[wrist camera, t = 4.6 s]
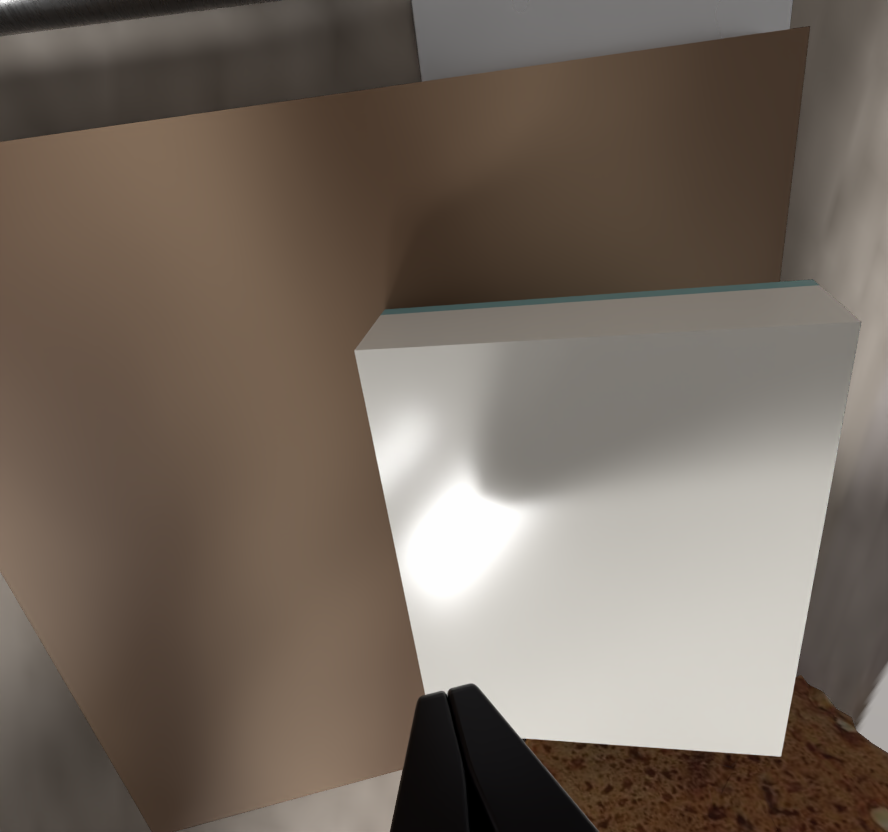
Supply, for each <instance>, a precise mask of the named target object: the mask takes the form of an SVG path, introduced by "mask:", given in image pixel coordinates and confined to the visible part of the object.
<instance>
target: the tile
mask: <svg viewBox="0 0 888 832" xmlns="http://www.w3.org/2000/svg"><path fill="white" fill-rule="evenodd" d="M860 326H861V321H860V320H859V319H858V318H857V317H855V316H854V315H853V314H852V313H851V312H850V311H848V310H847V309H846V308H845V307H844V306H843V305H842V304H840V303H839V302H838V301H837V300H836V299H835V298H834V297H832V296H831V295H830V294H829V293H828V292H827V291H826V290H824V289H823V288H822V287H821V286H820V285H819V284H817V283H816V282H815V281H814V280H798V281H784V282H770V283H756V284H741V285H727V286H713V287H699V288H684V289H670V290H656V291H641V292H627V293H613V294H599V295H584V296H570V297H556V298H542V299H527V300H513V301H499V302H485V303H470V304H456V305H442V306H427V307H413V308H399V309H385V310H384V311H383V312H382V314H381V315H380V316H379V318H378V319H377V321H376V322H375V323H374V325H373V326H372V327H371V329H370V330H369V331H368V333H367V334H366V335H365V337H364V338H363V339H362V341H361V342H360V343H359V345H358V346H357V348H356V349H355V350H354V352H355V356H356V361H357V366H358V371H359V376H360V381H361V386H362V390H363V395H364V400H365V405H366V410H367V415H368V420H369V424H370V429H371V434H372V439H373V444H374V449H375V453H376V458H377V463H378V468H379V473H380V478H381V483H382V487H383V492H384V497H385V502H386V507H387V512H388V517H389V521H390V526H391V531H392V536H393V541H394V546H395V550H396V555H397V560H398V565H399V570H400V575H401V580H402V584H403V589H404V594H405V599H406V604H407V609H408V614H409V618H410V623H411V628H412V633H413V638H414V643H415V647H416V652H417V657H418V662H419V667H420V672H421V677H422V681H423V686H424V691H425V695H426V694H430V693H434V692H438V691H444V692H445V693H446V694H447V692H448V690H449V689H450V688H453V687H457V686H461V685H465V684H468V683H473V684H475V685H476V686H478V687H479V689H480V690H481V691H482V692H483V693H484V695H485V696H486V697H487V698H488V699H489V701H490V702H491V703H492V704H493V705H494V707H495V708H496V709H497V710H498V711H499V712H500V714H501V715H502V716H503V717H504V718H505V720H506V721H507V722H508V723H509V724H510V726H511V727H512V728H513V729H514V730H515V732H516V733H517V734H518V735H519V736H520V738H525V739H539V740H553V741H567V742H581V743H596V744H610V745H624V746H638V747H652V748H666V749H680V750H694V751H709V752H723V753H737V754H751V755H765V756H779V757H781V754H782V749H783V744H784V738H785V733H786V727H787V722H788V716H789V711H790V706H791V700H792V695H793V689H794V684H795V678H796V673H797V668H798V662H799V657H800V651H801V646H802V640H803V635H804V630H805V624H806V619H807V613H808V608H809V603H810V597H811V592H812V586H813V581H814V575H815V570H816V565H817V559H818V554H819V548H820V543H821V537H822V532H823V527H824V521H825V516H826V510H827V505H828V500H829V494H830V489H831V483H832V478H833V472H834V467H835V462H836V456H837V451H838V445H839V440H840V434H841V429H842V424H843V418H844V413H845V407H846V402H847V397H848V391H849V386H850V380H851V375H852V369H853V364H854V359H855V353H856V348H857V342H858V337H859V331H860ZM447 697H448V696H447Z"/></svg>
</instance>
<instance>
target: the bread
mask: <svg viewBox="0 0 888 832" xmlns="http://www.w3.org/2000/svg"><path fill="white" fill-rule="evenodd" d="M525 744H526V745H527V746H528V747H529V748H530V749H531V751H532V752H533V753H534V754H535V755H536V757H537V758H538V759H539V760H540V761H541V763H542V764H543V765H544V766H545V767H546V769H547V770H548V771H549V772H550V773H551V775H552V776H553V777H554V778H555V779H556V781H557V782H558V783H559V784H560V785H561V786H562V788H563V789H564V790H565V791H566V792H567V794H568V795H569V796H570V797H571V798H572V800H573V801H574V802H575V803H576V804H577V806H578V807H579V808H580V809H581V810H582V812H583V813H584V814H585V815H586V816H587V818H588V819H589V820H590V821H591V822H592V823H593V825H594V826H595V827H596V828H597V829H598V831H599V832H888V753H887V752H885V751H884V750H882V749H881V748H879V747H877V746H876V745H874V744H872V743H871V742H870V741H869V740H867V739H866V738H865V737H864V736H862V735H861V734H860V733H858V732H857V731H856V728H855V726H854V723H853V721H852V718H851V717H850V716H848V715H846V714H845V713H843V712H841V711H839V710H837V709H836V708H835V707H834V705H833V704H832V703H831V702H830V700H829V699H828V698H827V696H826V695H825V694H824V692H822V691H820V690H818V689H816V688H814V687H812V686H811V685H809V684H808V683H807V682H806V681H805V680H804V678H803V677H802V676H801V675H800V676H798V677H796V678H795V684H794V689H793V695H792V700H791V706H790V711H789V716H788V722H787V727H786V733H785V738H784V744H783V749H782V754H781V757H779V756H765V755H751V754H737V753H723V752H709V751H694V750H680V749H666V748H652V747H638V746H624V745H610V744H596V743H581V742H567V741H553V740H539V739H526V741H525Z"/></svg>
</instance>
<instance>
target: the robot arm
mask: <svg viewBox="0 0 888 832" xmlns="http://www.w3.org/2000/svg"><path fill="white" fill-rule="evenodd" d="M447 696H448V697H447ZM390 832H599V831H598V829H597V828H596V827H595V826H594V825H593V823H592V822H591V821H590V820H589V819H588V818H587V816H586V815H585V814H584V813H583V812H582V810H581V809H580V808H579V807H578V806H577V804H576V803H575V802H574V801H573V800H572V798H571V797H570V796H569V795H568V794H567V792H566V791H565V790H564V789H563V788H562V786H561V785H560V784H559V783H558V782H557V781H556V779H555V778H554V777H553V776H552V775H551V773H550V772H549V771H548V770H547V769H546V767H545V766H544V765H543V764H542V763H541V761H540V760H539V759H538V758H537V757H536V755H535V754H534V753H533V752H532V751H531V749H530V748H529V747H528V746H527V745H526V744H525V742H524V741H523V740H522V739H521V738H520V736H519V735H518V734H517V733H516V732H515V730H514V729H513V728H512V727H511V726H510V724H509V723H508V722H507V721H506V720H505V718H504V717H503V716H502V715H501V714H500V712H499V711H498V710H497V709H496V708H495V707H494V705H493V704H492V703H491V702H490V701H489V699H488V698H487V697H486V696H485V695H484V693H483V692H482V691H481V690H480V689H479V687H478V686H476V685H475V684H473V683H468V684H465V685H461V686H457V687H453V688H450V689H449V690H448V692H447V694H446V693H445V692H444V691H438V692H434V693H430V694H426V695H422V696H420V697H419V698H418V700H417V703H416V707H415V712H414V717H413V722H412V727H411V732H410V737H409V741H408V746H407V751H406V756H405V761H404V766H403V771H402V776H401V781H400V785H399V790H398V795H397V800H396V805H395V810H394V815H393V820H392V824H391V829H390Z"/></svg>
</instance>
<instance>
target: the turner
mask: <svg viewBox="0 0 888 832" xmlns="http://www.w3.org/2000/svg"><path fill="white" fill-rule="evenodd" d="M273 1H281V0H0V36H6V35H14V34H22V33H29V32H37V31H45V30H53V29H61V28H69V27H77V26H84V25H92V24H100V23H108V22H116V21H124V20H132V19H139V18H147V17H155V16H163V15H171V14H179V13H186V12H194V11H202V10H210V9H218V8H226V7H234V6H241V5H249V4H257V3H265V2H273ZM792 4H793V0H411V5H412V13H413V21H414V28H415V36H416V44H417V51H418V59H419V67H420V75H421V82H423V81H430V80H437V79H444V78H451V77H458V76H465V75H472V74H479V73H486V72H493V71H500V70H507V69H514V68H521V67H528V66H535V65H542V64H549V63H556V62H563V61H570V60H577V59H584V58H591V57H598V56H605V55H612V54H619V53H626V52H633V51H640V50H647V49H654V48H661V47H668V46H675V45H682V44H689V43H696V42H703V41H710V40H717V39H724V38H731V37H738V36H745V35H752V34H759V33H766V32H773V31H780V30H787V29H790V21H791V12H792Z"/></svg>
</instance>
